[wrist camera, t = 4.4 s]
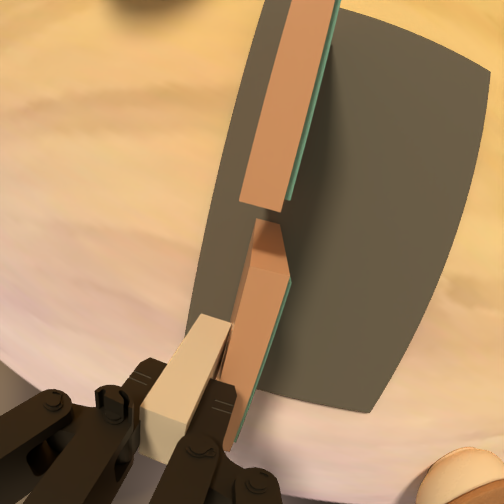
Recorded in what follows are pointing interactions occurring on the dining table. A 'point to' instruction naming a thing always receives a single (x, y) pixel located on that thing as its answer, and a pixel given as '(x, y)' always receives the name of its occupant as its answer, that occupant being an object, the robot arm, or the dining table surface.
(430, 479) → the lidded jar
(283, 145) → the tile near
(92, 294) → the dining table surface
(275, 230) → the tile far
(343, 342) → the mat
